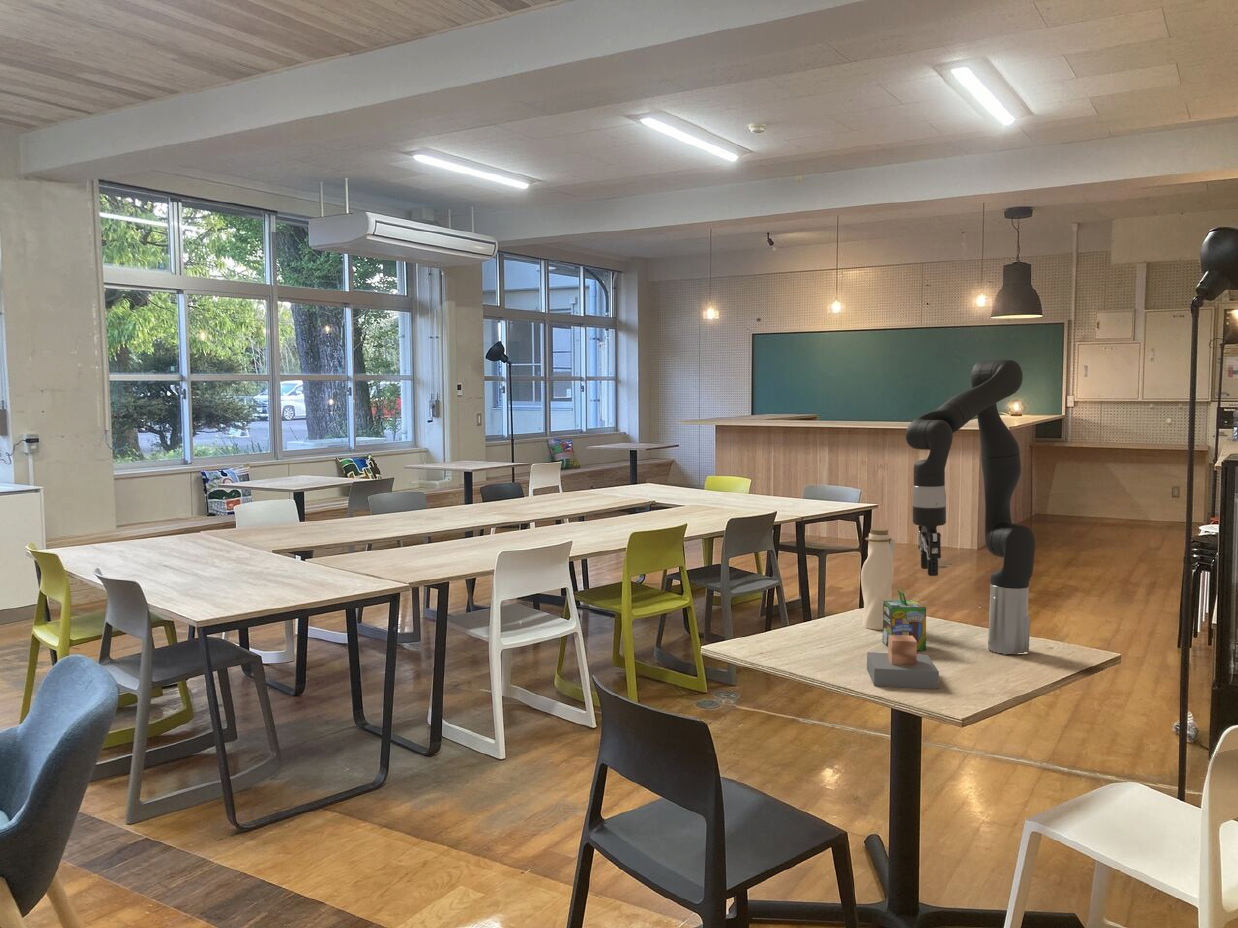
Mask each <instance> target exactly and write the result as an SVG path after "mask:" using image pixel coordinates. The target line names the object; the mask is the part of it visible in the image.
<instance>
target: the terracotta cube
mask: <svg viewBox="0 0 1238 928" xmlns="http://www.w3.org/2000/svg"><path fill="white" fill-rule="evenodd" d="M887 653H888V659H889V661H890V662H891V664H896V665H916V660H917V655H918V650H917V641H916V640H915V638H914V637H913V636H906V635H888V647H887Z"/></svg>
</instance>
